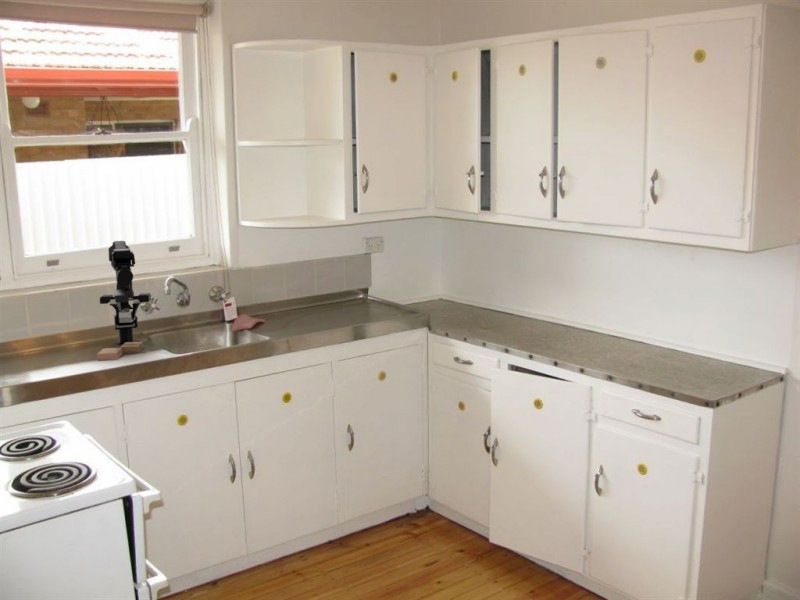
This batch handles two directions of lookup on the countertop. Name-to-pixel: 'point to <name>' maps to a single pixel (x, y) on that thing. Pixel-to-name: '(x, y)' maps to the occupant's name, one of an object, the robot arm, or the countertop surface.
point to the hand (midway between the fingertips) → (127, 320)
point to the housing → (126, 315)
